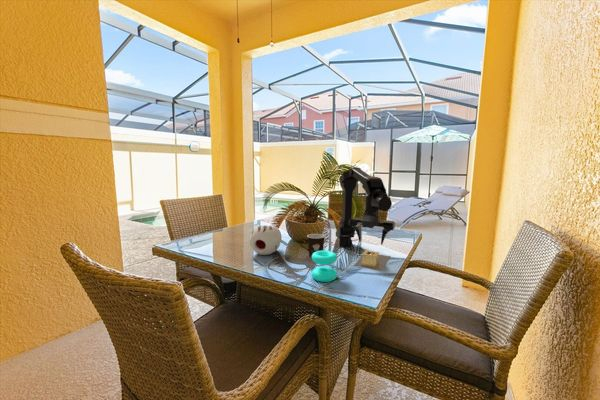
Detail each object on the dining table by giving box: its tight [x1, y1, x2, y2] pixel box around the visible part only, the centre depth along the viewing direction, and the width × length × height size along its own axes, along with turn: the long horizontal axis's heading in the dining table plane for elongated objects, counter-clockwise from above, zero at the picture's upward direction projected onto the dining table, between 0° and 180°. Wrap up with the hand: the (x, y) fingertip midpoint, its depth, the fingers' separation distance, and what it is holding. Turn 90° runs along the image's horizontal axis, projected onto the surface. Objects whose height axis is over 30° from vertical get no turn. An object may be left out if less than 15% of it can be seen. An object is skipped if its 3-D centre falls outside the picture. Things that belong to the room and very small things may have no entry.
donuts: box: [311, 250, 338, 283], centre depth 109 cm, size 10×10×10 cm
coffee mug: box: [298, 233, 325, 258], centre depth 135 cm, size 12×9×10 cm
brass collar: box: [361, 250, 380, 268], centre depth 119 cm, size 6×6×5 cm
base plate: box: [353, 254, 391, 271], centre depth 124 cm, size 20×12×6 cm, turn 153°
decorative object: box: [249, 225, 282, 256], centre depth 139 cm, size 15×19×15 cm
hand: (370, 242), depth 119 cm, fingers open, 9 cm apart
